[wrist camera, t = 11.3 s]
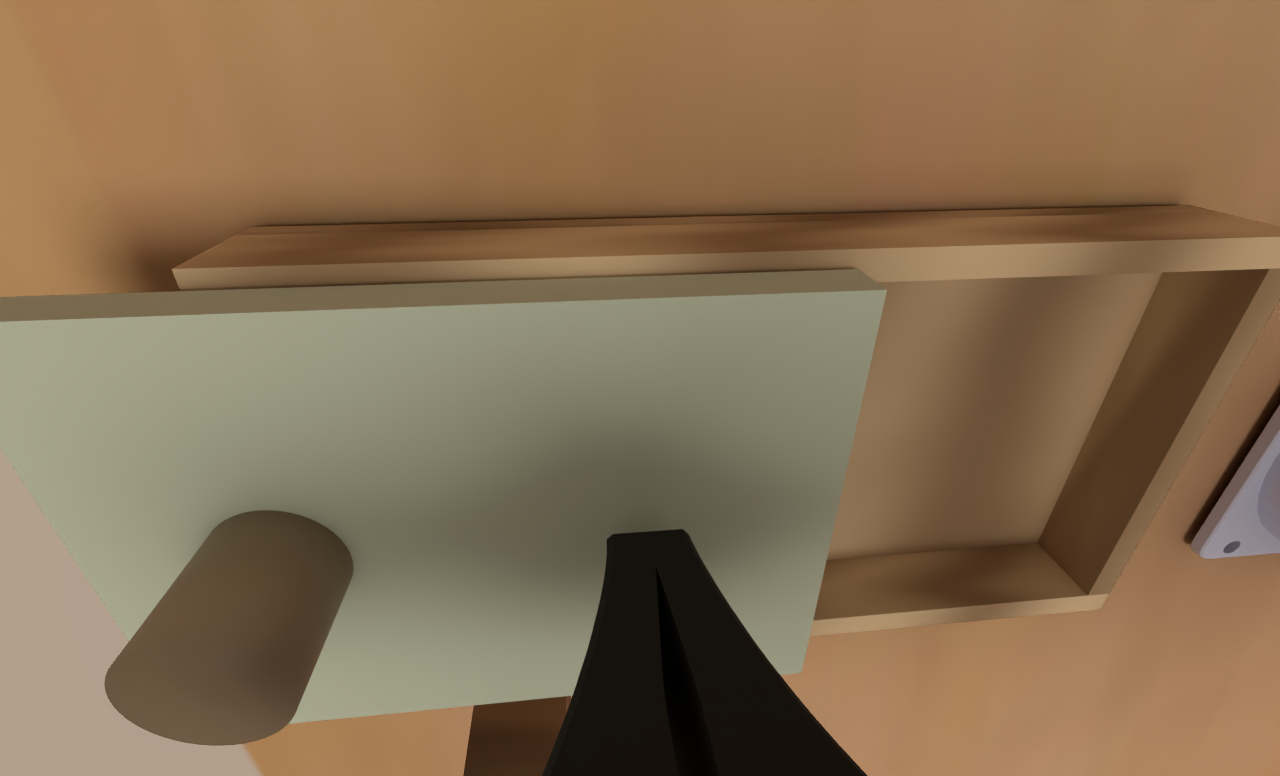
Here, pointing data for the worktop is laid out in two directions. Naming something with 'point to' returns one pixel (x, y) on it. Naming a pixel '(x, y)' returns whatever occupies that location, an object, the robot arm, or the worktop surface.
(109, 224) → the worktop surface
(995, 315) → the shallow wooden tray
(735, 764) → the robot arm
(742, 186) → the worktop surface
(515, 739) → the dark brown rectangular block
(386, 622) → the lid
